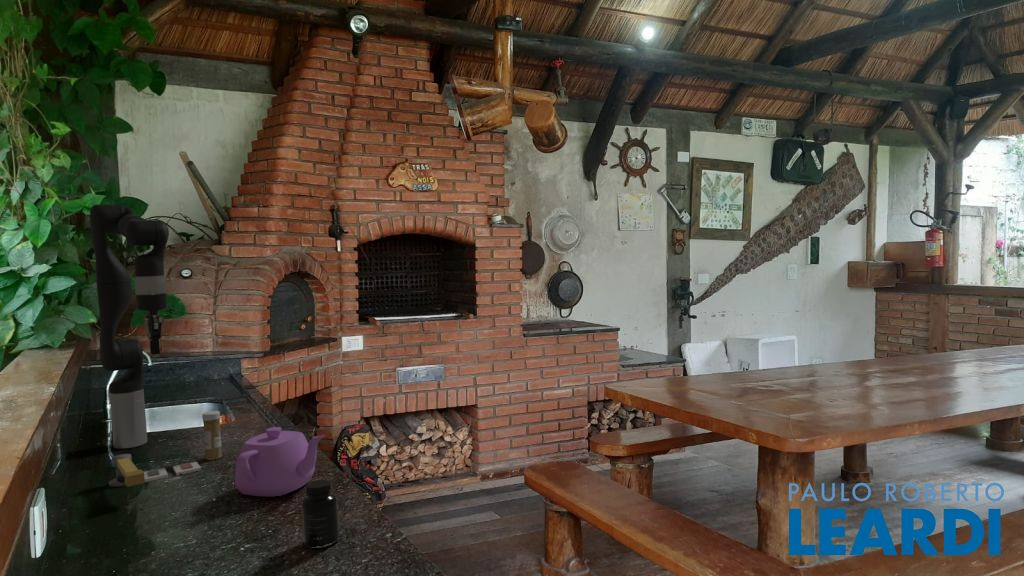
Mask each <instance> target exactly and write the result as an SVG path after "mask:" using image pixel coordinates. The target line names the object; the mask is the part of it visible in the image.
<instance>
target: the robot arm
mask: <svg viewBox="0 0 1024 576" xmlns="http://www.w3.org/2000/svg"><path fill="white" fill-rule="evenodd" d="M89 222H90V223H89V224H90V230H91V236H92V237H91V238H92V243H93V244H92V245H93V249H94V259H95V271H96V272H95V273H96V274H95V276H96V279H95V280H96V291H97V300H98V301H97V302H98V310H99V311H98V312H99V324H100V325H99V326H100V329H99V330H100V331H99V333H100V337H99V338H100V339H99V341H100V342H99V347H100V353H99V354H100V362H101V366H102V368H103V369H104V371H106V372H117V371H122V370H123V371H124V370H127V371H126V373H125V374H124V375H122V376H121V377H120V378H117V379H116V380H113V381H112V382H111V383H110V384H108V385H109V386H108V390H109V403H110V413H111V414H110V417H111V428H112V442H113V443H112V444H113V448H114V449H130V448H136V447H140V446H143V445H145V444H147V443H148V433H147V432H148V431H147V417H146V416H147V415H146V405H145V391H144V380H145V379H144V377H145V376H144V352H143V346H142V343H141V342H140V340H139V339H137V338H128V339H120V340H116V333H117V328H118V326H119V323H120V321H121V319H122V317H123V315H124V314H125V313H126V312H127V309H128V307H129V306H130V304H131V302H132V299H133V289H132V288H133V286H132V277H131V274H130V273H129V271H128V270H127V268H126V267H125V266H124V265H123V264H122V262H120V260H119V259H118V257H116V255H115V254H114V252H113V250H112V249H111V247H110V245H109V242H108V239H107V235H108V236H111V235H112V236H113V235H118V236H119V235H121V236H123V237H124V238H125V239H126V242H127V243H128V244H129V245H130V246H134V247H146V246H147V247H149V246H150V247H152V250H151V251H150V252H148V253H144V254H139V255H137V256H136V257H135V258H134V272H135V273H134V274H135V275H134V276H135V279H134V280H135V282H134V285H135V286H134V287H135V289H134V290H135V302H136V303H135V304H136V309H137V310H138V311H146V316H145V315H144V316H143V319H144V320H143V321H144V324H145V332H146V336H147V338H148V339H147V340H148V341H149V348H150V349H149V350H150V351H149V352H150V354H151V355H152V356H153V355H160V354H161V349H160V348H161V345H160V341H161V338H162V324H163V323H162V322H163V316H162V315H160V313H159V311H160V310H166V309H167V308H168V295H167V293H168V292H167V282H166V278H165V267H164V265H165V263H164V259H165V255H166V253H165V252H166V248H167V245H168V240H169V237H170V236H169V235H170V233H169V231H170V230H169V227H168V225H167V224H166V223H165V222H164V221H162V220H158V219H157V220H148V219H146V218H143V217H142V216H139V215H137V214H136V213H135V212H134V211H133V210H132V208H131V207H129V206H127V205H122V204H93V205H92V206H91V207H90V210H89Z"/></svg>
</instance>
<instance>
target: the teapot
mask: <svg viewBox="0 0 1024 576" xmlns="http://www.w3.org/2000/svg"><path fill="white" fill-rule="evenodd" d="M325 437H326V435H325V434H322V435H317V436H316V435H315V436H313V437H312V438H311V439H310V440H309V442H308V440H307V438H306V437H305V435H304V433H303V432H301V431H295V430H282V427H279V426H273V427H269V428H266V429H265V432H264V433H261V434H258V435H256V436H253V437H251V438H249V439H247V440H246V441H245V442H244V443H243V445H242V447H241V449H240V453H239V455H238V456H237V457H236V466H235V472H234V483H235V487H236V488H237V489H238V491H239V492H240V493H241V494H242V495H246V496H254V497H267V498H268V497H272V498H273V497H275V496H280V497H283V496H282V495H284V496H285V494H286V495H287V494H289V493H292V492H295V491H296V490H298V489H300V488H302V487H303V486H306V485H307V484H308V483H309V482H310V481H311V479H312V478H313V476H314V473H315V469H316V463H317V456H318V450H317V449H318V444H319V442H320V441H321V440H323V438H325Z"/></svg>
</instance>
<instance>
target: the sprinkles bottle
mask: <svg viewBox="0 0 1024 576" xmlns="http://www.w3.org/2000/svg"><path fill="white" fill-rule="evenodd" d="M220 418H221V413H220V411H219V410H209V411H205V412H203V413H202V418H201V419H202V422H203V436H204V437H203V438H204V449H205V460H206V461H216V460H218V459H222V458H223V451H222V436H221V435H222V433H221V426H220V423H221V422H220ZM215 459H216V460H215Z"/></svg>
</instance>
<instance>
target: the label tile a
mask: <svg viewBox="0 0 1024 576" xmlns="http://www.w3.org/2000/svg"><path fill="white" fill-rule="evenodd" d="M143 472H144V478H145V483H149V482H154V481H158V480H162V479H163V480H164V479H166V478H169V473H168V471H167V469H166V468H165V467H162V468H157V469H151V470H147V471H143Z"/></svg>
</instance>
